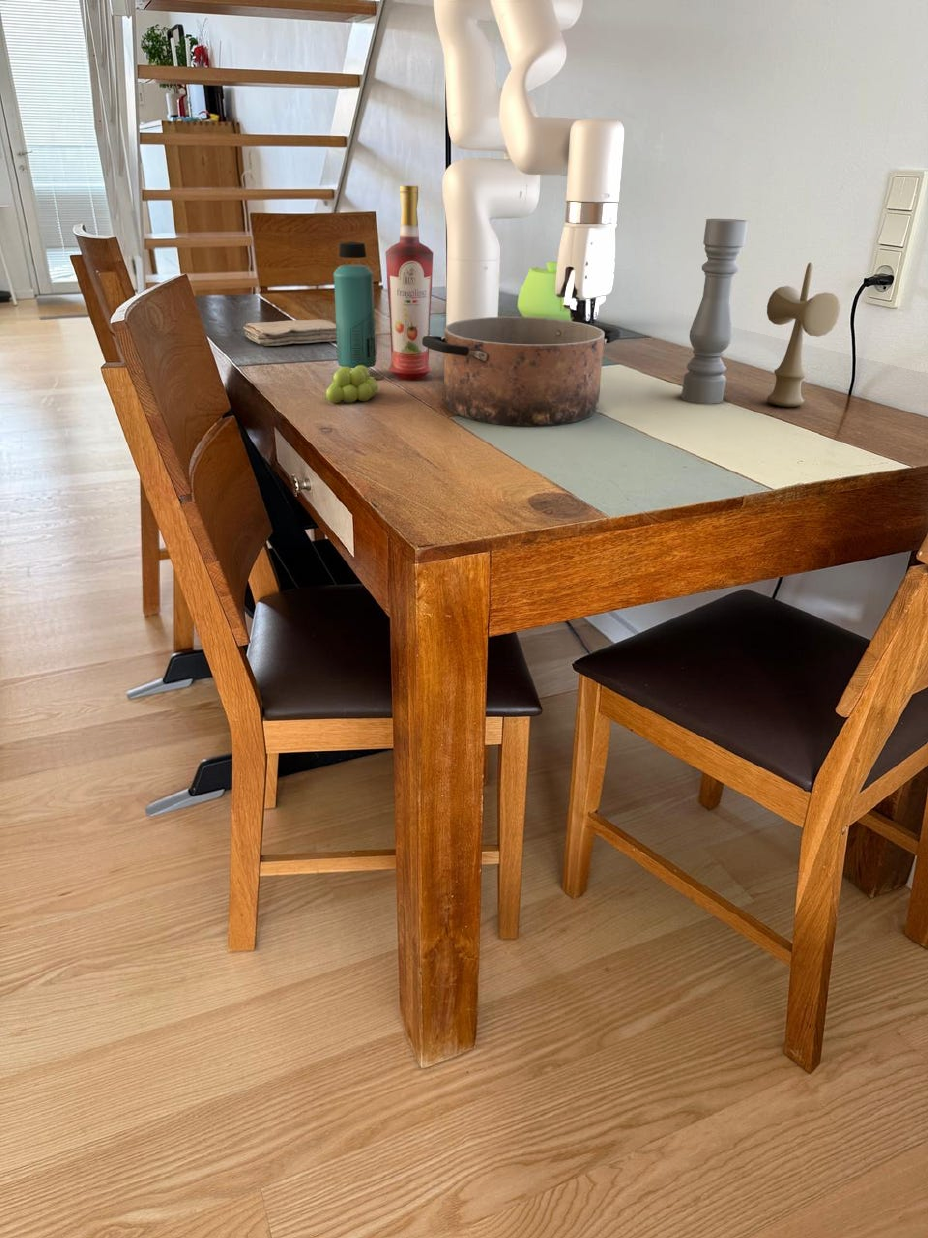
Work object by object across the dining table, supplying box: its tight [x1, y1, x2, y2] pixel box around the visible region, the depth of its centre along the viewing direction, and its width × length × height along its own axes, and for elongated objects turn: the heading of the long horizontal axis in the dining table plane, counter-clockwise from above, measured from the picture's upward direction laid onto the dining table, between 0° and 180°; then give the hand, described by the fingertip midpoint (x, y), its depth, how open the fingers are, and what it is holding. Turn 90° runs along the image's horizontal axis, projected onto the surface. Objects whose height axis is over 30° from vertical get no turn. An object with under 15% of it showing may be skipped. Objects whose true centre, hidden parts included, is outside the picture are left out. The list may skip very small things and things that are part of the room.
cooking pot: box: [422, 316, 621, 427], centre depth 131 cm, size 30×22×11 cm
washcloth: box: [243, 319, 337, 347], centre depth 175 cm, size 12×18×3 cm, turn 119°
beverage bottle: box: [332, 241, 378, 369], centre depth 145 cm, size 6×7×20 cm
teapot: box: [517, 261, 578, 321], centre depth 194 cm, size 20×13×13 cm
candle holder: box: [680, 218, 749, 405], centre depth 134 cm, size 6×6×25 cm
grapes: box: [325, 365, 385, 404], centre depth 135 cm, size 12×7×4 cm, turn 143°
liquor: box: [385, 185, 434, 381], centre depth 142 cm, size 7×7×28 cm
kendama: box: [766, 262, 841, 408], centre depth 133 cm, size 6×10×20 cm, turn 20°
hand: (581, 345), depth 141 cm, fingers closed
